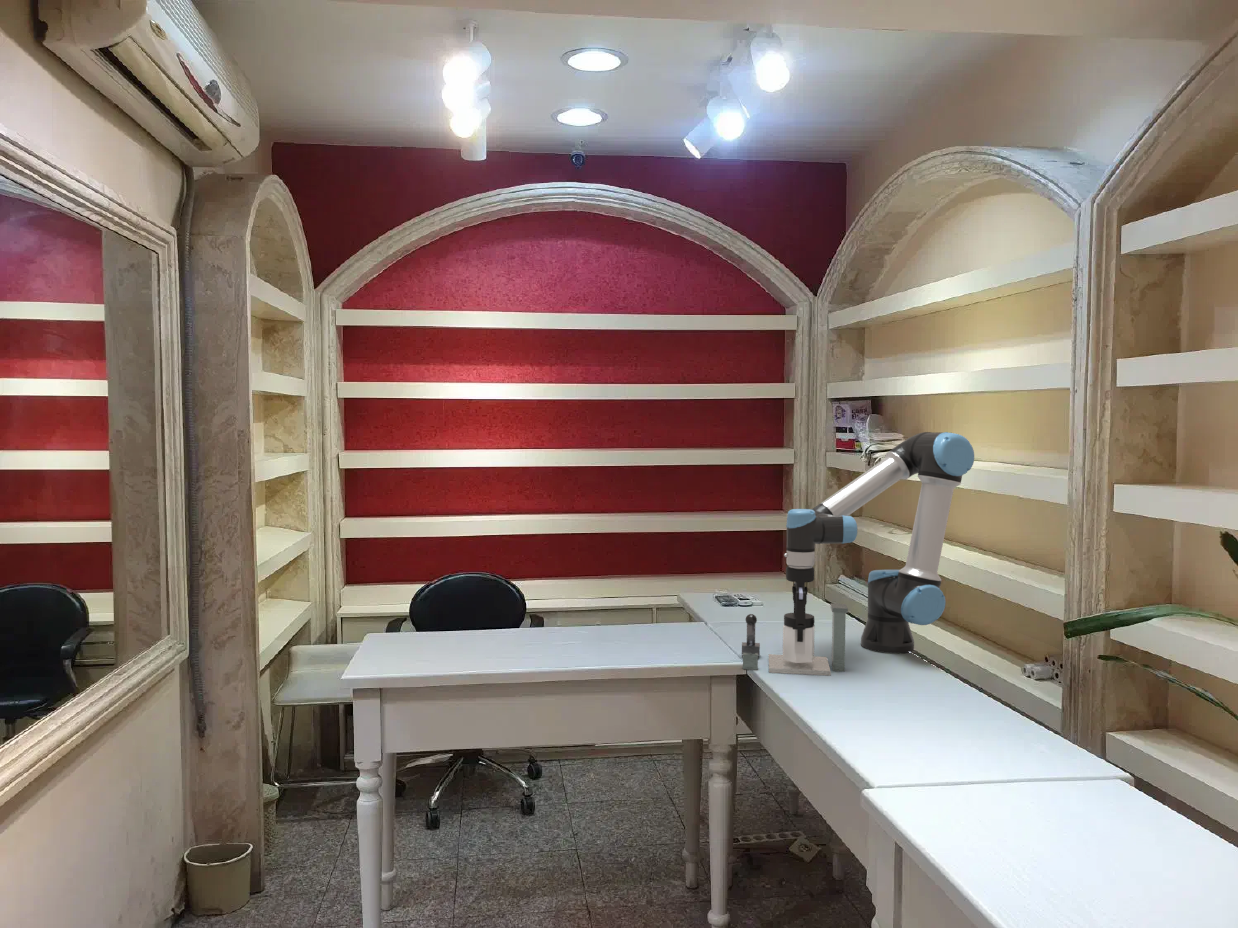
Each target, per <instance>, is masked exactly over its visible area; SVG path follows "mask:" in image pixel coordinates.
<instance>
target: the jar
mask: <svg viewBox="0 0 1238 928" xmlns="http://www.w3.org/2000/svg"><path fill="white" fill-rule="evenodd" d="M805 625H806V629H805V654H801V653H794V647H795V629H793V627H795V613H794V612H788V613H784V615H783V626H782V655H783V660H786V661H790V662H793V663H811V662H812V661H813V659H814V656H815V637H816V636H815V632H816V631H815V629H816V626H815V616H814V615H813V614H811V613H806V612H805Z"/></svg>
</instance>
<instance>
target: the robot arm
mask: <svg viewBox="0 0 1238 928" xmlns="http://www.w3.org/2000/svg"><path fill="white" fill-rule="evenodd" d="M974 462H975V450H974V448H973V446H972V444H971V442H970V441H969V439H968V438H967V437H965V436H963V434H962V435H961V434H959V433H954V432H953V433H952V432H948V431H945V432H935V431H934V432H932V431H925V432H924V431H922V432H920V433H917V434H914V435H912V436H910V437H909V438H907V439H905V440H904V441H902V442H901V443H899V444H898V445H896V446H895V447H893V448H892V449H890V450H888V452H886V453H885V457H884V458H883V459H882V460H880V461H879V462H877V463H876V464H875V465H873V466H871V468H869V469H867V470H866V471H865V472H863V473H862V474H860V475H859V476H858V477H856V478H855V479H853V480H852V481H850V482H849V483H847V484H846V485H845V486H843V487H842V488H840V489H838V491H836V492H834V493H833V494H832V495H830V496H829V497H827V498H826V499H824V500H823V501H822V502H821V503H818V504H816V506H814V507H812V508H811V509H809V508H793V509H790V510H788V511H787V514H786V515H787V516H786V525H785V526H786V527H785V528H786V553H784V554H783V556H784V558H785V559H786V561H785V562H786V564H787V566H786V568H785V580H786V581H788V582H791V583H792V582H793V586H791V587H792V588H791V592H792V600H793V613H795V627H793V629H795V647H794V653H801V654H805V629H806V625H805V613H806V605H807V601H808V599H807V598H808V597H807V596H808V587H807V586H805V585H806V583H813V582H814V580H815V567H814V566H815V563H816V562H815V560H816V559H815V558H816V555H815V554H816V552H815V550H816V547H815V546H816V545H820V544H829V545H830V544H842V545H843V544H847V543H848V544H849V543H853V542H854V541H856V539H857V536H858V524H857V521H856V519H855V518H854V517H853V516H851V514H853V513H854V512H855V511H857V510H858V509H860V508H861V507H863V506H864V505H866V504H867V503H868V502H870V501H871V500H874V498H876V497H878V496H879V495H880V494H881V493H883V492H885V491H886V490H887V489H888V488H890V487H892V486H893V485H894V484H896V483H898V482H899V481H901V480H908V479H909V478H910V477H912V476H915V475H917V478H918V479H919V480H920V482H921V486H920V490H919V491H920V493H919V495H918V497H919V498H918V501H917V507H916V512H915V516H914V520H913V521H914V522H913V527H912V532H911V536H910V541H909V547H908V552H907V557H906V562H905V565H904V566H903V567H902V568H900V569H875V570H871V571H870V572H869V573H868V578H867V579H868V580H867V618H866V619H867V620H866V624H865V626H864V628H863V631H862V634H861V637H860V646H861V647H863V648H864V649H866V650H869V651H874V652H878V653H879V652H880V653H885V654H889V653H890V654H900V653H901V654H902V653H909V652H912V651H914V650H915V640H914V636H913V633H912V630H911V627H910V624H914V625H918V626H927V625H930V624H933V623H934V622H936V621H937V620H938V619H940V617H942V615H943V613H944V611H945V608H946V603H947V602H946V596H945V594H944V592H943V591H942V590H941V584H942V578H941V576H940V575H939V573H938V570H939V567H940V566H939V565H940V560H941V555H942V550H943V545H944V541H945V535H946V529H947V524H948V520H949V515H950V509H951V505H952V504H951V503H952V499H953V495H954V491H955V489H956V487H958V486H960V485H961V484H962V479H963V476H964V475H965V474H967V473H968V472H969V471H970V470H971V469H972V467H973V466H974ZM909 623H910V624H909Z"/></svg>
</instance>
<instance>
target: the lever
mask: <svg viewBox="0 0 1238 928" xmlns="http://www.w3.org/2000/svg"><path fill="white" fill-rule="evenodd" d="M757 622H758V619H757V616H756V615H755V614H752V613H749V614H747V616H745V623H746V642H744V641H742V642H741V655H743V653H758V656H760V654H761V653H760V651H761V647H760V646H761V644H760V642H756V623H757Z"/></svg>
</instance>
